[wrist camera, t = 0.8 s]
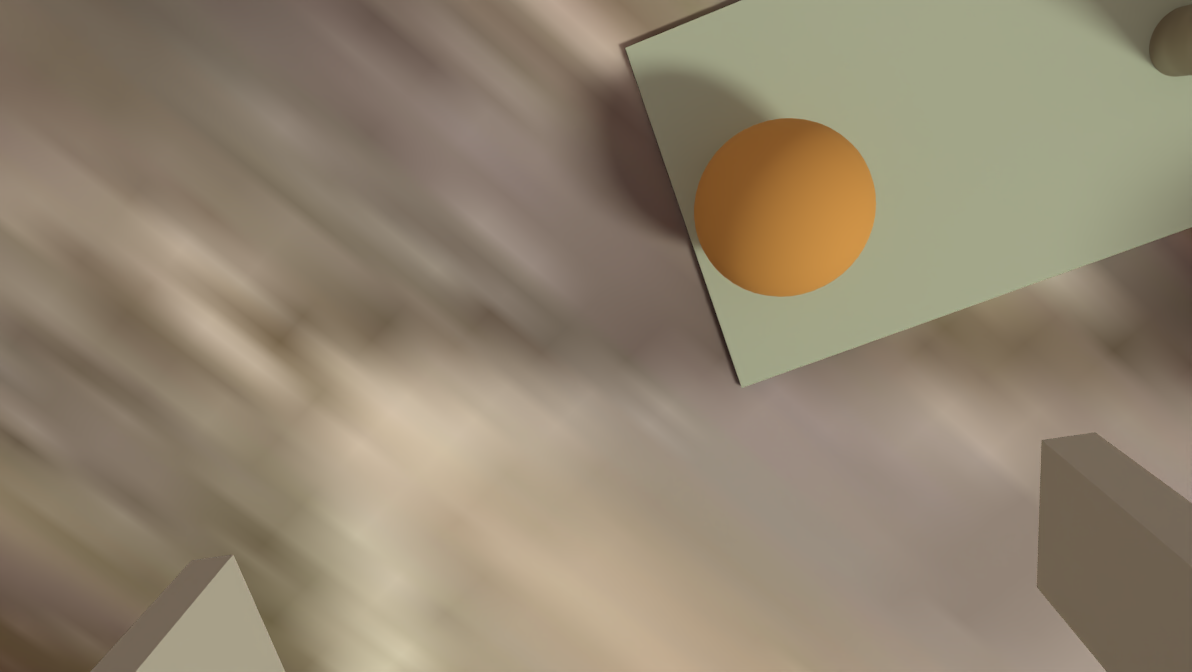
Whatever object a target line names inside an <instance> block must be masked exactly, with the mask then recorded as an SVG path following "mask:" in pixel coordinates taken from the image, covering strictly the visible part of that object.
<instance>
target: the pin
mask: <svg viewBox="0 0 1192 672" xmlns="http://www.w3.org/2000/svg"><path fill="white" fill-rule="evenodd" d="M1149 54H1150V59H1151V61H1152V63H1153V65H1154V67H1155V68H1156V69H1157V70H1158V71H1159V72H1161V73H1162V74H1164V75H1167V76H1172V77H1178V76H1188V75H1192V4H1191V5H1186V6H1182V7H1179V8H1176V9H1174V10H1173V11H1171V12H1169V13H1168V14H1167V15H1166V16H1165V17H1163V18H1162V20H1161V21H1160V22H1159V23H1158V25H1157V26H1156V28H1155V29H1154V31H1153V34H1152V36H1151V40H1150V45H1149Z"/></svg>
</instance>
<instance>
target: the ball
mask: <svg viewBox="0 0 1192 672" xmlns="http://www.w3.org/2000/svg"><path fill="white" fill-rule="evenodd" d="M875 212H876V193H875V188H874V182H873V179H872V176H871V173H870V171H869V168H868V166H867V164H866V162H865V160H864V159H863V157H862V156H861V154H860V153H859V151H858V150H857V149H856V148H855V147H854V146H853V145H852V143H851V142H850V141H848V140H847V139H846V138H845V137H843V136H842V135H841V134H839V133H838V132H836V131H835V130H833V129H831V128H830V127H828V126H825V125H823V124H820V123H817V122H813V121H809V120H805V119H796V118H781V119H774V120H769V121H765V122H762V123H759V124H756V125H753V126H751V127H749V128H747V129H745V130H743V131H741V132H739V133H738V134H736V135H735V136H733V137H732V138H731V139H729V140H728V141H727V142H726V143H725V144H724V145H723V146H722V147H721V148H720V149H719V150H718V151H717V152H716V153H715V154H714V156H713V157H712V159H711V160H710V161H709V163H708V165H707V166H706V168H705V170H704V172H703V174H702V176H701V179H700V181H699V184H698V188H697V191H696V196H695V203H694V221H695V228H696V232H697V236H698V239H699V242H700V244H701V247H702V249H703V251H704V252H705V254H706V256H707V258H708V259H709V261H710V262H711V263H712V265H713V266H714V267H715V268H716V269H717V270H718V271H719V272H720V273H721V274H722V275H723V276H724V277H725V278H727V279H728V280H729V281H731V282H732V283H734V284H736V285H737V286H739V287H741V288H743V289H745V290H748V291H751V292H753V293H757V294H761V295H766V296H777V297H785V296H795V295H801V294H804V293H808V292H811V291H814V290H816V289H818V288H821V287H823V286H825V285H827V284H829V283H830V282H832V281H834V280H835V279H836V278H838V277H839V276H840V275H842V274H843V273H844V272H845V271H846V270H847V269H848V268H849V267H850V266H851V265H852V264H853V263H854V262H855V260H856V259H857V258H858V257H859V255H860V253H861V252H862V250H863V249H864V247H865V245H866V243H867V241H868V239H869V237H870V234H871V231H872V228H873V224H874V219H875Z"/></svg>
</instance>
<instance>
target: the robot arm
mask: <svg viewBox="0 0 1192 672" xmlns="http://www.w3.org/2000/svg"><path fill="white" fill-rule="evenodd" d="M1037 588H1038V589H1039V590H1040V591H1041V593H1042V594H1043V595H1044V596H1045V597H1046V599H1047V600H1048V601H1049V602H1050V603H1051V605H1052V606H1053V607H1054V608H1055V610H1056V611H1057V612H1058V613H1059V614H1060V616H1061V617H1062V618H1063V619H1064V620H1065V622H1066V623H1067V624H1068V625H1069V626H1070V628H1071V629H1072V630H1073V631H1074V633H1075V634H1076V635H1077V636H1078V637H1079V639H1080V640H1081V641H1082V642H1083V643H1084V645H1085V646H1086V647H1087V648H1088V649H1089V651H1090V652H1091V653H1092V654H1093V655H1094V657H1095V658H1096V659H1097V660H1098V662H1099V663H1100V664H1101V665H1102V666H1103V668H1104V669H1105V670H1106V671H1107V672H1192V503H1191V502H1189V501H1188V500H1187V499H1185V498H1184V497H1182V496H1181V495H1180V494H1178V493H1177V492H1176V491H1174V490H1173V489H1172V488H1170V487H1169V486H1167V485H1166V484H1165V483H1163V482H1162V481H1161V480H1159V479H1158V478H1157V477H1155V476H1154V475H1152V474H1151V473H1150V472H1148V471H1147V470H1146V469H1144V468H1143V467H1142V466H1140V465H1139V464H1137V463H1136V462H1135V461H1133V460H1132V459H1131V458H1129V457H1128V456H1127V455H1125V454H1124V453H1122V452H1121V451H1120V450H1118V449H1117V448H1116V447H1114V446H1113V445H1112V444H1110V443H1109V442H1107V441H1106V440H1105V439H1103V438H1102V437H1101V436H1099V435H1098V434H1097V433H1088V434H1081V435H1074V436H1067V437H1060V438H1053V439H1046V440H1042V445H1041V476H1040V506H1039V536H1038V567H1037ZM90 672H285V670H284V668H283V666H282V664H281V661H280V659H279V657H278V655H277V652H276V650H275V648H274V646H273V643H272V641H271V639H270V637H269V634H268V632H267V630H266V628H265V625H264V623H263V621H262V619H261V616H260V614H259V612H258V609H257V607H256V605H255V603H254V600H253V598H252V596H251V594H250V591H249V589H248V587H247V585H246V582H245V580H244V578H243V576H242V573H241V571H240V569H239V567H238V564H237V562H236V560H235V558H234V555H227V556H220V557H213V558H206V559H198V560H192V561H191V562H190V563H189V564H188V565H187V566H186V567H185V568H184V569H183V570H182V572H181V573H180V574H179V575H178V576H177V577H176V578H175V579H174V580H173V581H172V583H171V584H170V585H169V586H168V587H167V588H166V589H165V590H164V591H163V592H162V593H161V595H160V596H159V597H158V598H157V599H156V600H155V601H154V602H153V603H152V604H151V606H150V607H149V608H148V609H147V610H146V611H145V612H144V613H143V614H142V615H141V617H140V618H139V619H138V620H137V621H136V622H135V623H134V624H133V625H132V626H131V628H130V629H129V630H128V631H127V632H126V633H125V634H124V635H123V636H122V637H121V639H120V640H119V641H118V642H117V643H116V644H115V645H114V646H113V647H112V648H111V650H110V651H109V652H108V653H107V654H106V655H105V656H104V657H103V658H102V659H101V661H100V662H99V663H98V664H97V665H96V666H95V667H94V668H93V669H92V670H91V671H90Z"/></svg>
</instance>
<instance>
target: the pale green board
mask: <svg viewBox="0 0 1192 672" xmlns="http://www.w3.org/2000/svg"><path fill="white" fill-rule="evenodd" d="M1191 4H1192V0H741V1H739V2H736V3H734V4H731V5H729V6H726V7H724V8H721V9H719V10H717V11H714V12H712V13H709V14H707V15H704V16H702V17H699V18H697V19H695V20H692V21H690V22H687V23H685V24H682V25H680V26H677V27H675V28H673V29H670V30H668V31H665V32H663V33H660V34H658V35H655V36H653V37H651V38H648V39H646V40H643V41H641V42H638V43H636V44H633V45H631V46H629V47H626V48H625V50H626V53H627V56H628V59H629V61H630V64H631V67H632V70H633V73H634V76H635V79H636V82H637V85H638V88H639V91H640V94H641V96H642V99H643V102H644V105H645V108H646V111H647V114H648V117H649V120H650V123H651V126H652V129H653V131H654V134H655V137H656V140H657V143H658V146H659V149H660V152H661V155H662V158H663V161H664V163H665V166H666V169H667V172H668V175H669V178H670V181H671V184H672V187H673V190H674V193H675V196H676V198H677V201H678V204H679V207H680V210H681V213H682V216H683V219H684V222H685V225H686V228H687V231H688V233H689V236H690V239H691V242H692V245H693V248H694V251H695V254H696V257H697V260H698V263H699V266H700V268H701V271H702V274H703V277H704V280H705V283H706V286H707V289H708V292H709V295H710V298H711V300H712V303H713V306H714V309H715V312H716V315H717V318H718V321H719V324H720V327H721V330H722V333H723V335H724V338H725V341H726V344H727V347H728V350H729V353H730V356H731V359H732V362H733V365H734V368H735V370H736V373H737V376H738V379H739V382H740V385H741V387H742V388H743V387H746V386H748V385H751V384H754V383H757V382H760V381H762V380H765V379H768V378H771V377H774V376H776V375H779V374H782V373H785V372H788V371H790V370H793V369H796V368H799V367H802V366H804V365H807V364H810V363H813V362H816V361H819V360H821V359H824V358H827V357H830V356H833V355H835V354H838V353H841V352H844V351H847V350H849V349H852V348H855V347H858V346H861V345H863V344H866V343H869V342H872V341H875V340H877V339H880V338H883V337H886V336H889V335H891V334H894V333H897V332H900V331H903V330H905V329H908V328H911V327H914V326H917V325H919V324H922V323H925V322H928V321H931V320H933V319H936V318H939V317H942V316H945V315H947V314H950V313H953V312H956V311H959V310H961V309H964V308H967V307H970V306H973V305H975V304H978V303H981V302H984V301H987V300H989V299H992V298H995V297H998V296H1001V295H1003V294H1006V293H1009V292H1012V291H1015V290H1017V289H1020V288H1023V287H1026V286H1029V285H1031V284H1034V283H1037V282H1040V281H1043V280H1045V279H1048V278H1051V277H1054V276H1057V275H1059V274H1062V273H1065V272H1068V271H1071V270H1073V269H1076V268H1079V267H1082V266H1085V265H1087V264H1090V263H1093V262H1096V261H1099V260H1101V259H1104V258H1107V257H1110V256H1113V255H1115V254H1118V253H1121V252H1124V251H1127V250H1129V249H1132V248H1135V247H1138V246H1141V245H1143V244H1146V243H1149V242H1152V241H1155V240H1157V239H1160V238H1163V237H1166V236H1169V235H1171V234H1174V233H1177V232H1180V231H1183V230H1185V229H1188V228H1191V227H1192V75H1188V76H1178V77H1172V76H1167V75H1164V74H1162V73H1161V72H1159V71H1158V70H1157V69H1156V68H1155V67H1154V65H1153V63H1152V61H1151V59H1150V54H1149V45H1150V40H1151V36H1152V34H1153V31H1154V29H1155V28H1156V26H1157V25H1158V23H1159V22H1160V21H1161V20H1162V18H1163V17H1165V16H1166V15H1167V14H1168V13H1169V12H1171V11H1173V10H1174V9H1176V8H1179V7H1182V6H1186V5H1191ZM781 118H796V119H805V120H809V121H813V122H817V123H820V124H823V125H825V126H828V127H830V128H831V129H833V130H835V131H836V132H838V133H839V134H841V135H842V136H843V137H845V138H846V139H847V140H848V141H850V142H851V143H852V145H853V146H854V147H855V148H856V149H857V150H858V151H859V153H860V154H861V156H862V157H863V159H864V160H865V162H866V164H867V166H868V168H869V171H870V173H871V176H872V179H873V182H874V188H875V193H876V212H875V219H874V224H873V228H872V231H871V234H870V237H869V239H868V241H867V243H866V245H865V247H864V249H863V250H862V252H861V253H860V255H859V257H858V258H857V259H856V260H855V262H854V263H853V264H852V265H851V266H850V267H849V268H848V269H847V270H846V271H845V272H844V273H843V274H842V275H840V276H839V277H838V278H836V279H835V280H834V281H832V282H830V283H829V284H827V285H825V286H823V287H821V288H818V289H816V290H814V291H811V292H808V293H804V294H801V295H795V296H785V297H777V296H766V295H761V294H757V293H753V292H751V291H748V290H745V289H743V288H741V287H739V286H737V285H736V284H734V283H732V282H731V281H729V280H728V279H727V278H725V277H724V276H723V275H722V274H721V273H720V272H719V271H718V270H717V269H716V268H715V267H714V266H713V265H712V263H711V262H710V261H709V259H708V258H707V256H706V254H705V252H704V251H703V249H702V247H701V244H700V242H699V239H698V236H697V232H696V228H695V221H694V203H695V196H696V191H697V188H698V184H699V181H700V179H701V176H702V174H703V172H704V170H705V168H706V166H707V165H708V163H709V161H710V160H711V159H712V157H713V156H714V154H715V153H716V152H717V151H718V150H719V149H720V148H721V147H722V146H723V145H724V144H725V143H726V142H727V141H728V140H729V139H731V138H732V137H733V136H735V135H736V134H738V133H739V132H741V131H743V130H745V129H747V128H749V127H751V126H753V125H756V124H759V123H762V122H765V121H769V120H774V119H781Z"/></svg>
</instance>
